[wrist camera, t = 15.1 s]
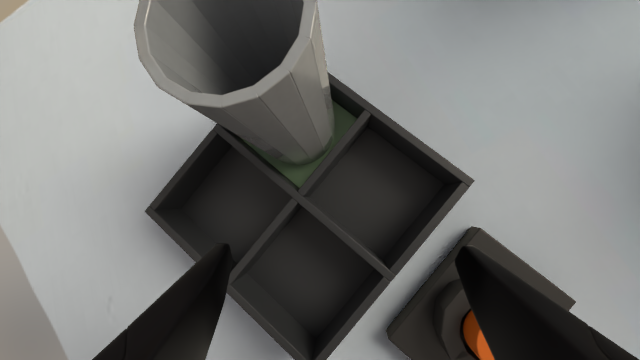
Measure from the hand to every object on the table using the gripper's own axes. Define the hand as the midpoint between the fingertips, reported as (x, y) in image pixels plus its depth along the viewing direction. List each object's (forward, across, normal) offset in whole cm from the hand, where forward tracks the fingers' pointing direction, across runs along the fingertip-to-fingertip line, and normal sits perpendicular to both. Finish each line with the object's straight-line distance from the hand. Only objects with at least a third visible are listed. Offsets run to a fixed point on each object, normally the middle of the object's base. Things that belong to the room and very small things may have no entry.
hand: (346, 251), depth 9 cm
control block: (+4, -11, +11) cm, 16 cm away
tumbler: (+14, +3, 0) cm, 14 cm away
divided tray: (+11, +2, +5) cm, 12 cm away
